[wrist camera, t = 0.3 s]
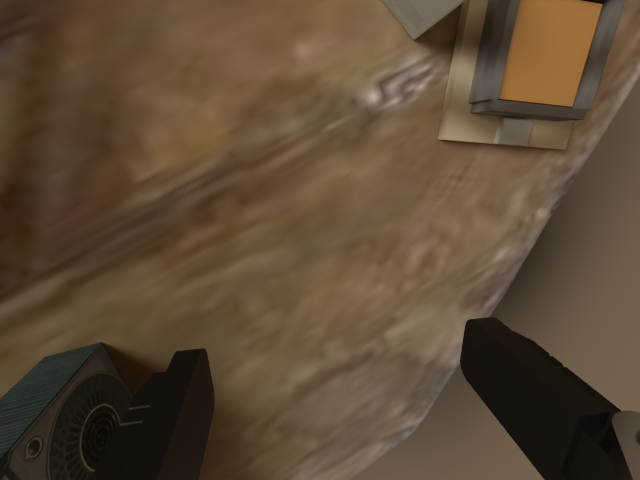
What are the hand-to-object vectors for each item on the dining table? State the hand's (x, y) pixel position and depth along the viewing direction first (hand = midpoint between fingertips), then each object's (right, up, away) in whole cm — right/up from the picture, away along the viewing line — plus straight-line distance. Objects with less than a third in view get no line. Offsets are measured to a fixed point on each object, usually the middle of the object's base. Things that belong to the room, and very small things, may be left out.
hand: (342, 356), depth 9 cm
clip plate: (+22, +23, +22) cm, 39 cm away
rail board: (+22, +24, +25) cm, 41 cm away
